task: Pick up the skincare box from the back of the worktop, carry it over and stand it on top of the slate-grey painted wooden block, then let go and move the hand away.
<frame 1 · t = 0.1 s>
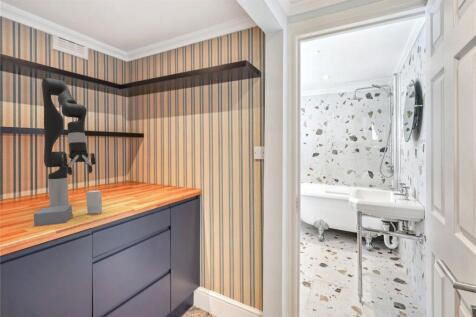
hand: (80, 174, 118), 22 cm above the table, tool pointing down, fingers open, 8 cm apart
grey block: (54, 221, 115), on the table
skincare box: (94, 213, 127), on the table
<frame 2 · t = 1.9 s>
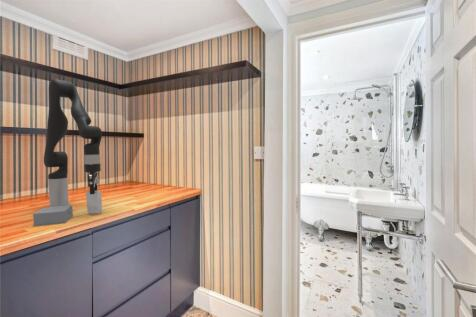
hand: (93, 192, 126), 11 cm above the table, tool pointing down, fingers open, 8 cm apart
nothing on the table moved.
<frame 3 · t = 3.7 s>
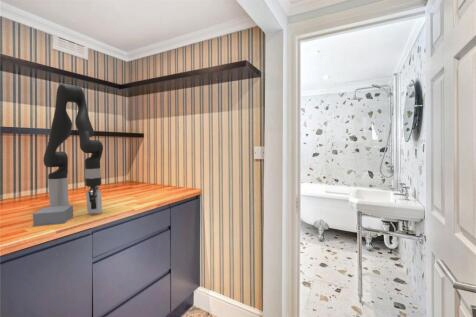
hand: (94, 207, 127), 3 cm above the table, tool pointing down, fingers closed on skincare box, 5 cm apart
skincare box: (94, 213, 127), on the table, touching gripper
everything else where it was.
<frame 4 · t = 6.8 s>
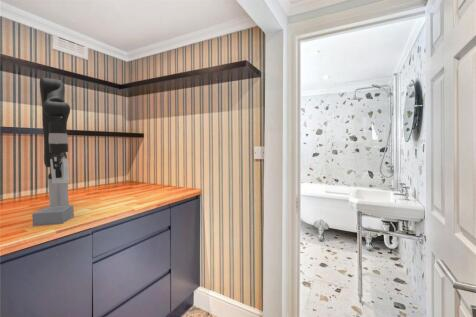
hand: (60, 176, 116), 21 cm above the table, tool pointing down, fingers closed on skincare box, 5 cm apart
skincare box: (60, 183, 116), point 18 cm above the table, touching gripper
everything else where it was.
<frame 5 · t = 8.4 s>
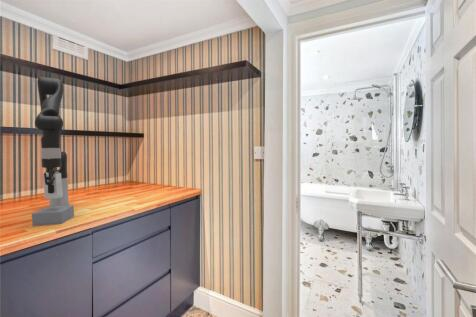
hand: (53, 191, 114), 14 cm above the table, tool pointing down, fingers closed on skincare box, 5 cm apart
skincare box: (53, 198, 114), point 11 cm above the table, touching gripper
everything else where it was.
when the fingers open (11 cm above the table, at t = 9.9 s): skincare box drops 2 cm, resting on grey block.
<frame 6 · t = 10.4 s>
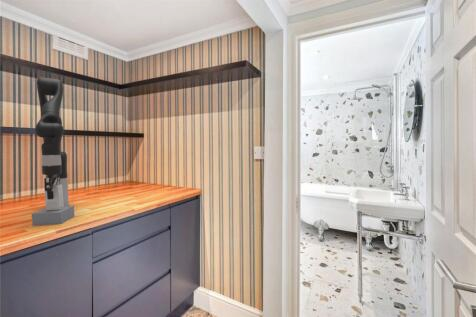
hand: (53, 197, 114), 12 cm above the table, tool pointing down, fingers open, 8 cm apart
grey block: (54, 221, 115), on the table, touching skincare box
skincare box: (54, 209, 114), point 5 cm above the table, touching grey block
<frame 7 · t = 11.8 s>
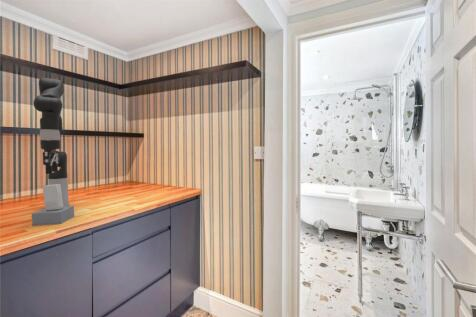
hand: (52, 172, 113), 24 cm above the table, tool pointing down, fingers open, 8 cm apart
nothing on the table moved.
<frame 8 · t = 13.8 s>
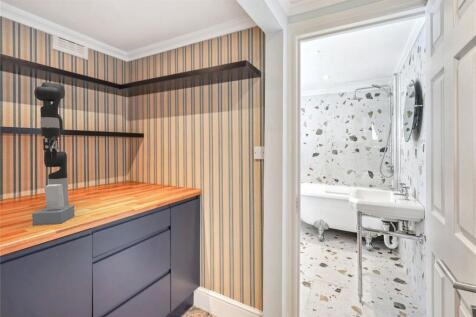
hand: (51, 158, 119), 30 cm above the table, tool pointing down, fingers open, 8 cm apart
nothing on the table moved.
at the end: skincare box inside the target area on the grey block (0.4 cm from its centre), point 6.1 cm above the grey block's base; skincare box tilted 6°; the gripper is holding nothing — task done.
